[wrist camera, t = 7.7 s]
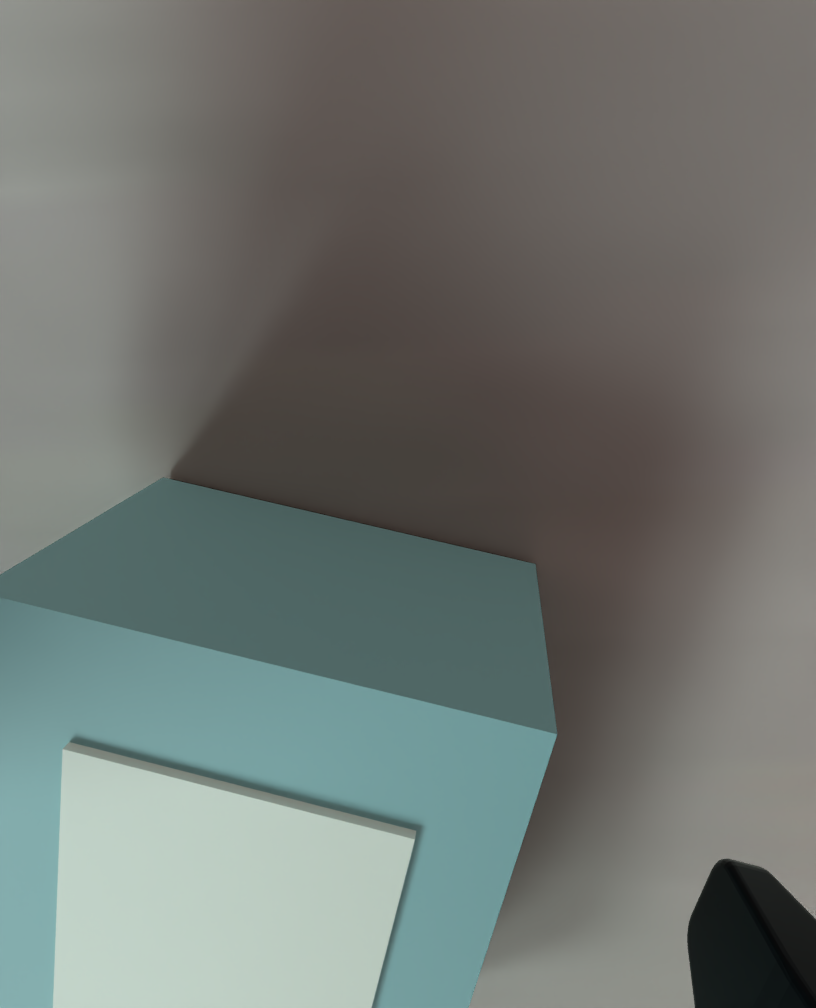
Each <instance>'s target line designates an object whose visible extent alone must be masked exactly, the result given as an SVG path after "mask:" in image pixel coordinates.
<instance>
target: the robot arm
mask: <svg viewBox="0 0 816 1008" xmlns="http://www.w3.org/2000/svg"><path fill="white" fill-rule="evenodd" d="M687 943H688V953H689V962H690V970H691V978H692V987H693V995H694V1003H695V1008H816V919H815V918H814V917H813V916H812V915H811V914H810V913H809V912H808V911H807V910H806V909H805V908H804V907H803V906H802V905H801V904H800V903H799V902H798V901H797V900H796V899H795V898H794V897H793V896H792V895H791V894H790V893H789V892H788V891H787V890H786V889H785V888H784V887H783V885H782V884H781V883H780V882H779V881H778V880H777V879H776V878H775V877H774V876H773V875H772V874H770V873H769V872H768V871H767V870H765V869H764V868H761V867H759V866H755V865H751V864H747V863H743V862H739V861H735V860H731V859H721V860H719V861H718V862H717V863H716V864H715V865H714V867H713V869H712V870H711V873H710V875H709V877H708V879H707V882H706V884H705V886H704V888H703V890H702V893H701V895H700V897H699V899H698V902H697V904H696V906H695V908H694V910H693V913H692V915H691V918H690V921H689V926H688V934H687Z"/></svg>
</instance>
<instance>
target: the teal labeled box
mask: <svg viewBox="0 0 816 1008" xmlns="http://www.w3.org/2000/svg"><path fill="white" fill-rule="evenodd" d="M556 737H557V728H556V720H555V712H554V704H553V697H552V689H551V681H550V673H549V666H548V658H547V650H546V642H545V634H544V627H543V619H542V611H541V603H540V596H539V588H538V580H537V572H536V565H535V564H533V563H529V562H525V561H520V560H516V559H512V558H507V557H503V556H499V555H494V554H490V553H486V552H482V551H477V550H473V549H469V548H464V547H460V546H456V545H451V544H447V543H443V542H438V541H434V540H430V539H426V538H421V537H417V536H413V535H408V534H404V533H400V532H395V531H391V530H387V529H383V528H378V527H374V526H370V525H365V524H361V523H357V522H352V521H348V520H344V519H340V518H335V517H331V516H327V515H322V514H318V513H314V512H309V511H305V510H301V509H296V508H292V507H288V506H284V505H279V504H275V503H271V502H266V501H262V500H258V499H253V498H249V497H245V496H241V495H236V494H232V493H228V492H223V491H219V490H215V489H210V488H206V487H202V486H198V485H193V484H189V483H185V482H180V481H176V480H172V479H167V478H161V479H160V480H158V481H156V482H155V483H153V484H151V485H150V486H148V487H146V488H145V489H143V490H141V491H140V492H138V493H136V494H135V495H133V496H131V497H129V498H128V499H126V500H124V501H123V502H121V503H119V504H118V505H116V506H114V507H113V508H111V509H109V510H108V511H106V512H104V513H103V514H101V515H99V516H98V517H96V518H94V519H93V520H91V521H89V522H88V523H86V524H84V525H83V526H81V527H79V528H78V529H76V530H74V531H73V532H71V533H69V534H68V535H66V536H64V537H63V538H61V539H59V540H58V541H56V542H54V543H53V544H51V545H49V546H48V547H46V548H44V549H43V550H41V551H39V552H38V553H36V554H34V555H32V556H31V557H29V558H27V559H26V560H24V561H22V562H21V563H19V564H17V565H16V566H14V567H12V568H11V569H9V570H7V571H6V572H4V573H2V574H1V575H0V1008H468V1007H469V1004H470V1001H471V998H472V995H473V992H474V989H475V986H476V983H477V980H478V977H479V973H480V970H481V967H482V964H483V961H484V958H485V955H486V952H487V949H488V946H489V943H490V940H491V937H492V934H493V930H494V927H495V924H496V921H497V918H498V915H499V912H500V909H501V906H502V903H503V900H504V897H505V894H506V891H507V887H508V884H509V881H510V878H511V875H512V872H513V869H514V866H515V863H516V860H517V857H518V854H519V851H520V848H521V844H522V841H523V838H524V835H525V832H526V829H527V826H528V823H529V820H530V817H531V814H532V811H533V808H534V805H535V801H536V798H537V795H538V792H539V789H540V786H541V783H542V780H543V777H544V774H545V771H546V768H547V765H548V762H549V758H550V755H551V752H552V749H553V746H554V743H555V740H556Z"/></svg>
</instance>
